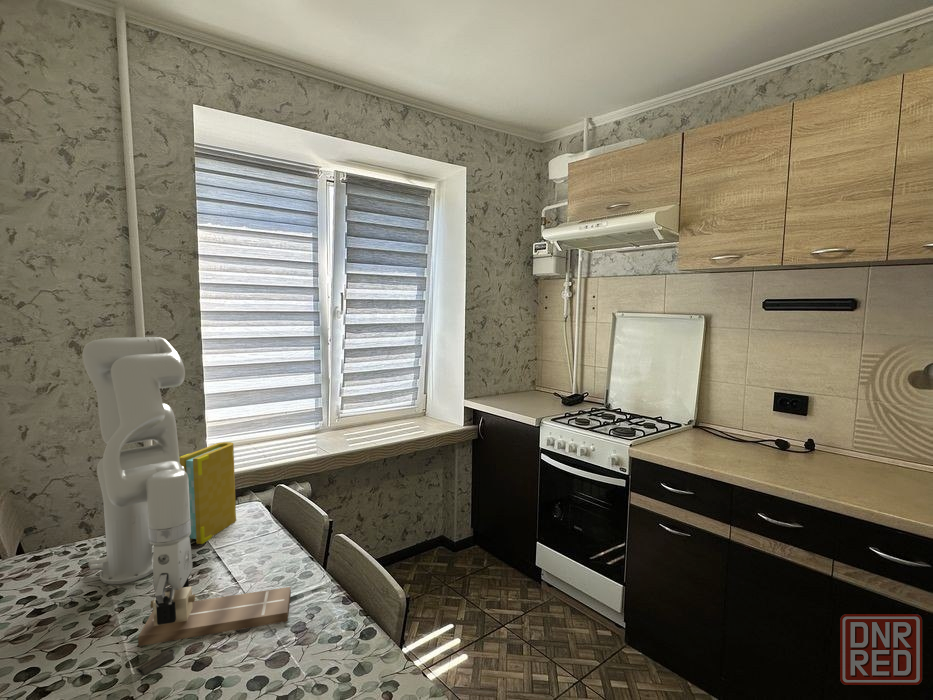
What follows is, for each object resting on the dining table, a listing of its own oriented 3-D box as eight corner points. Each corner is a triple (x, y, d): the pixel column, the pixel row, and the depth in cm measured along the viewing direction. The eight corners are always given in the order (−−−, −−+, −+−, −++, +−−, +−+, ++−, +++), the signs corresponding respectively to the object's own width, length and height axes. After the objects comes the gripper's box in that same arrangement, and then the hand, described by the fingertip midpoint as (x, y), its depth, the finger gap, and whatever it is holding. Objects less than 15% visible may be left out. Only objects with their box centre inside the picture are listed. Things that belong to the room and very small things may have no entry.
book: (202, 544, 137) (198, 459, 135) (182, 541, 139) (178, 457, 136) (241, 519, 154) (238, 442, 152) (222, 517, 155) (220, 441, 153)
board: (138, 646, 96) (138, 636, 95) (155, 615, 105) (155, 606, 105) (287, 621, 103) (287, 612, 103) (290, 594, 113) (290, 586, 113)
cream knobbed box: (148, 627, 98) (147, 603, 98) (156, 613, 103) (154, 591, 102) (192, 620, 101) (191, 597, 100) (197, 607, 105) (196, 585, 104)
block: (136, 675, 90) (134, 666, 89) (169, 653, 95) (167, 645, 95) (146, 681, 88) (144, 671, 88) (179, 658, 93) (177, 649, 93)
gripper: (178, 546, 93) (182, 631, 94) (200, 511, 109) (203, 583, 111) (133, 552, 91) (138, 638, 92) (163, 515, 107) (166, 589, 108)
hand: (174, 608), depth 101 cm, fingers open, 9 cm apart
